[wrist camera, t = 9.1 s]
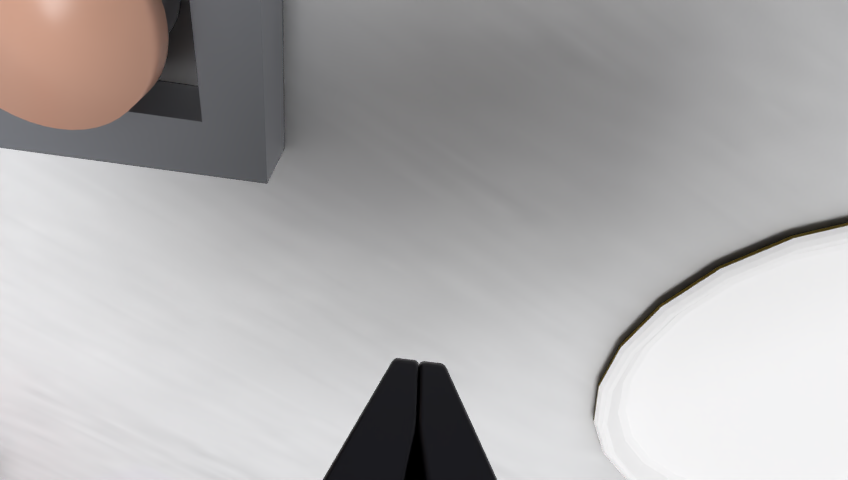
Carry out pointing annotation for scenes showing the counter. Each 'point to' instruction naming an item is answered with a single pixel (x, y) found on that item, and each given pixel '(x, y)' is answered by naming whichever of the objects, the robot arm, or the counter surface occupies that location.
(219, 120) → the panel
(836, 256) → the plate
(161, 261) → the counter surface
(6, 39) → the terracotta button
